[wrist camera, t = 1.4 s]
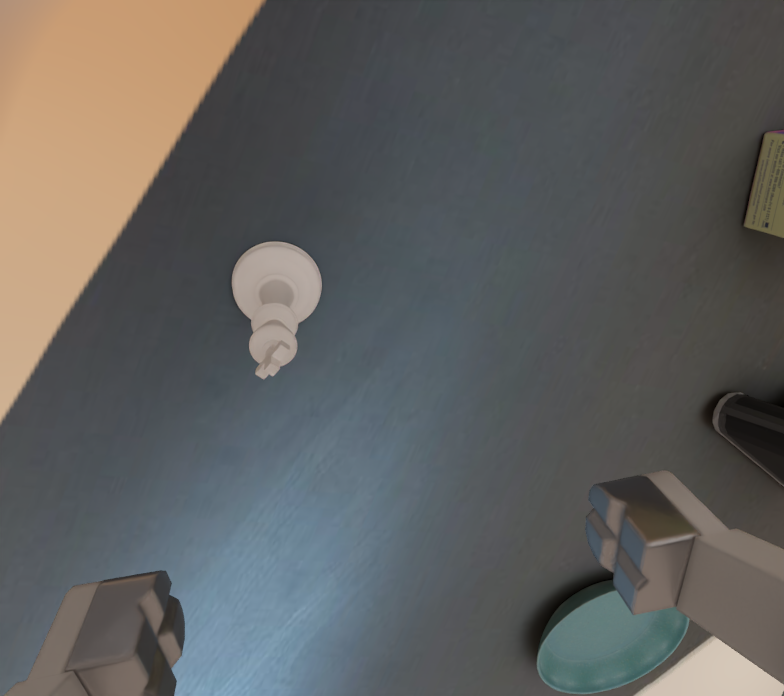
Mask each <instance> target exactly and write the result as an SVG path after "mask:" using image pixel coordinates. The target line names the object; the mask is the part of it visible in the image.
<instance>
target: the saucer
mask: <svg viewBox="0 0 784 696" xmlns="http://www.w3.org/2000/svg"><path fill="white" fill-rule="evenodd" d="M676 608H677V607H672V608H667V609H662V610H657V611H652V612H647V613H642V614H637V615H633V614H632V613H631V611H630V610H629V608H628V607H627V605H626V604H625V602H624V601H623V599H622V598H621V596H620V595H619V593H618V592H617V590H616V589H615V587H614V586H613V580H608V581H603V582H600V583H596V584H594V585H591V586H589V587H586V588H584V589H583V590H581V591H579V592H577V593H576V594H574V595H573V596H571V597H570V598H568V599H567V600H566V601H565V602H564V603H562V604H561V605H560V606H559V607H558V609H557V610H556V611H555V612H554V614H553V615H552V616H551V618H550V620H549V622H548V623H547V626H546V628H545V630H544V632H543V634H542V637H541V640H540V643H539V647H538V653H537V671H538V674H539V676H540V678H541V679H542V680H543V681H544V683H545V684H547V685H548V686H549V687H551V688H552V689H555V690H557V691H560V692H564V693H570V694H590V693H598V692H602V691H607V690H610V689H614V688H617V687H620V686H623V685H625V684H628V683H630V682H632V681H635V680H636V679H638V678H640V677H642V676H644V675H645V674H647V673H649V672H650V671H652V670H653V669H654V668H656V667H657V666H658V665H660V664H661V663H662V662H663V661H665V660H666V659H667V658H668V657H669V656H670V655H671V654H672V653H673V652H674V650H675V649H676V648H677V647H678V645H679V644H680V642H681V641H682V639H683V638H684V635H685V634H686V631H687V628H688V625H689V618H688V617H686V616H685V615H684V614H682V613H681V612H679V611H678V610H676Z"/></svg>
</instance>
